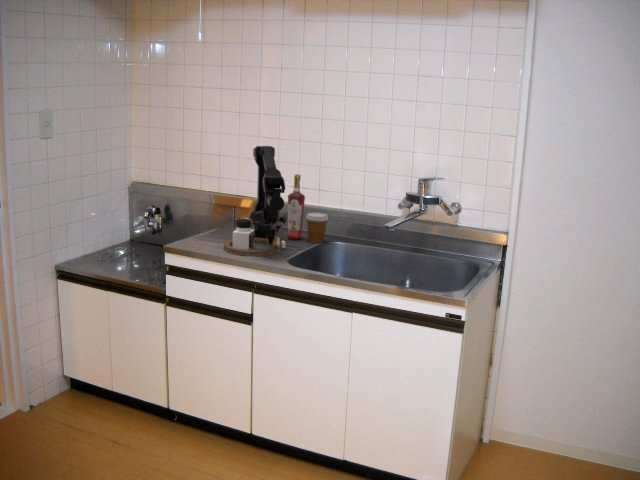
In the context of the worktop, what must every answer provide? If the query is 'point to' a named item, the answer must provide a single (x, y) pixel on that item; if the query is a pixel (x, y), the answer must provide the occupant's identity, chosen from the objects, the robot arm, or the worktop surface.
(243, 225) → the medicine bottle
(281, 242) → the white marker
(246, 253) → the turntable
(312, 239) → the disposable coffee cup
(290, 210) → the liquor
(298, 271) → the worktop surface
